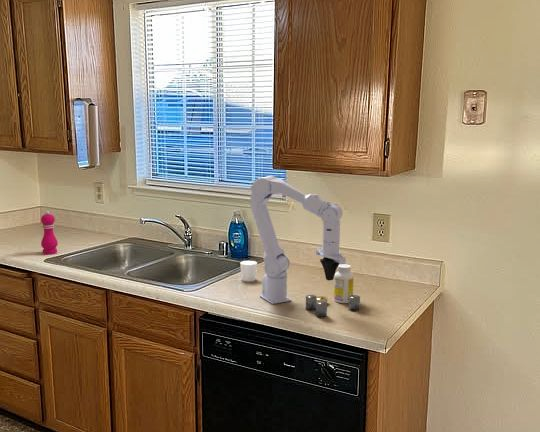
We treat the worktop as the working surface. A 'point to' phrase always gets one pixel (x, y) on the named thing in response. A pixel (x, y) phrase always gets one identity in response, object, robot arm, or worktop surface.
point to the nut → (321, 298)
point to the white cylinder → (248, 270)
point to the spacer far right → (321, 309)
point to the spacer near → (311, 302)
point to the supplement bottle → (343, 284)
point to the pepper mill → (48, 234)
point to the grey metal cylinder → (354, 303)
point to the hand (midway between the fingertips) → (329, 279)
